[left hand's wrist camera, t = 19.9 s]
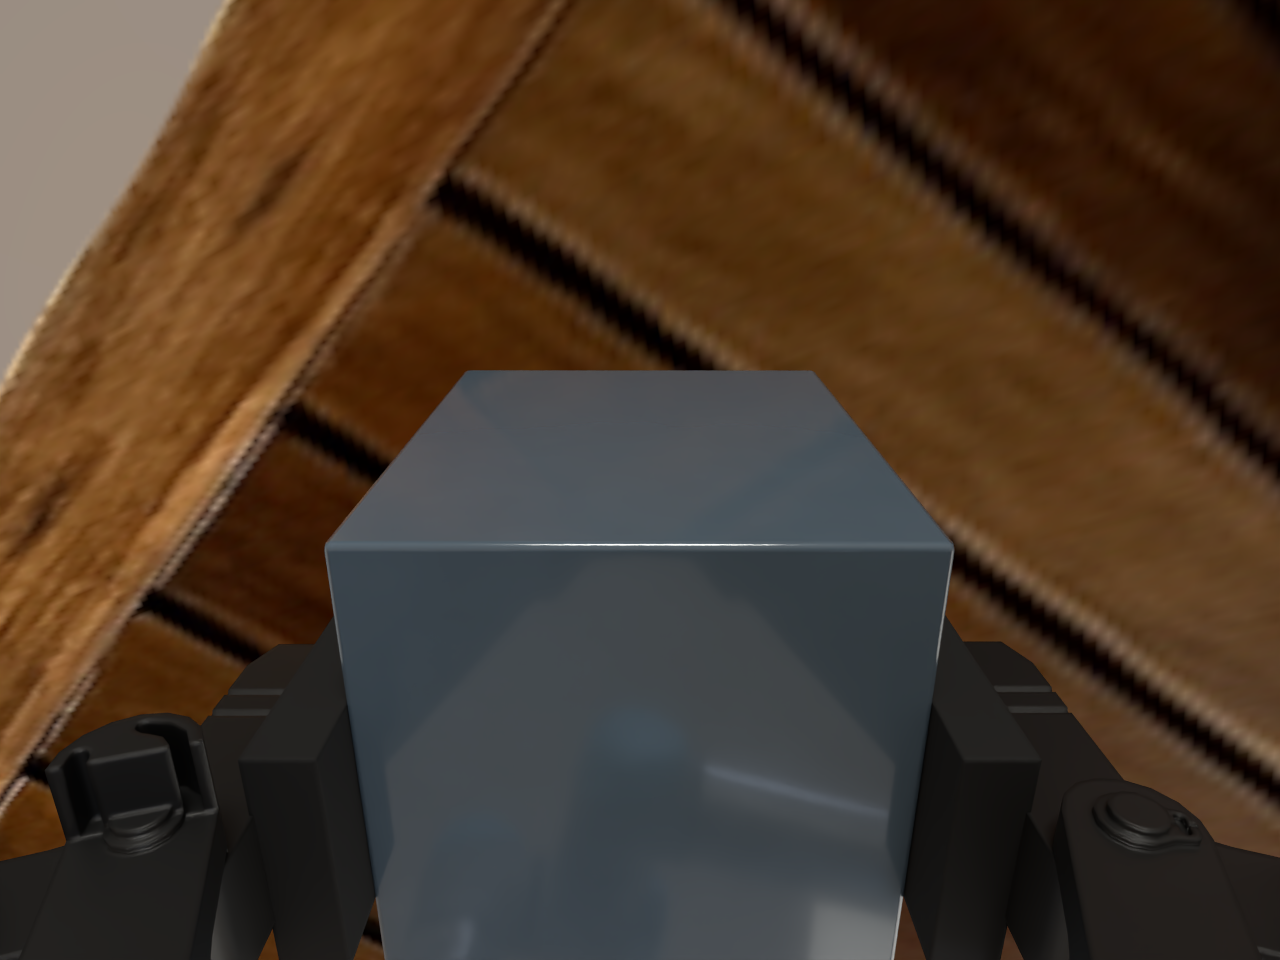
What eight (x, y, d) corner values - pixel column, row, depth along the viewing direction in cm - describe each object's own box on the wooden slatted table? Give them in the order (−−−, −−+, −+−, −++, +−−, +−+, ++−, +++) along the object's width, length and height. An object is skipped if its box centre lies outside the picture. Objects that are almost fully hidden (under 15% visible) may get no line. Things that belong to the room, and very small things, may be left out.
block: (814, 369, 15) (959, 544, 8) (791, 681, 17) (888, 1018, 10) (464, 369, 15) (319, 544, 8) (488, 680, 17) (390, 1016, 10)
